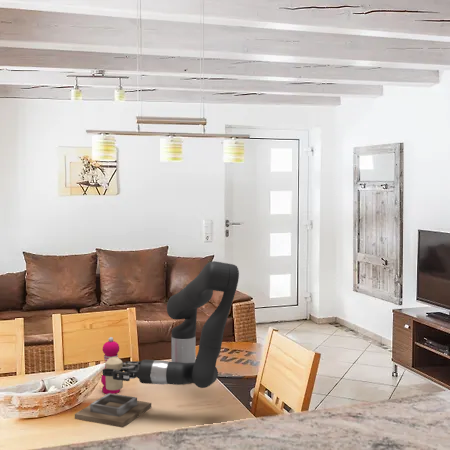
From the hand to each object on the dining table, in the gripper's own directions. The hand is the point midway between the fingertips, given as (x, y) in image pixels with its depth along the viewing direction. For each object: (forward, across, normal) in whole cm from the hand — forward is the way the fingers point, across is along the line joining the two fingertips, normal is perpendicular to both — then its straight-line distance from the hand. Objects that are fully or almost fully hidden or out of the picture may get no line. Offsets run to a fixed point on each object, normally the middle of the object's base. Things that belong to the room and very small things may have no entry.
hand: (106, 369), depth 193 cm
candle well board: (-2, 0, +14) cm, 15 cm away
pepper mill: (+7, -19, +14) cm, 25 cm away
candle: (-3, 0, +6) cm, 7 cm away
